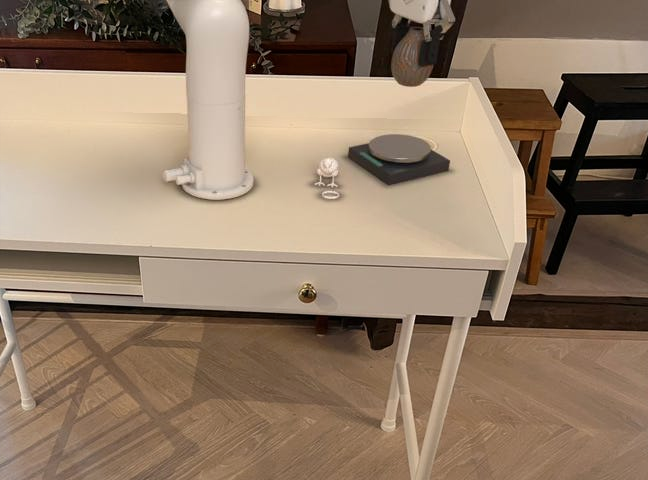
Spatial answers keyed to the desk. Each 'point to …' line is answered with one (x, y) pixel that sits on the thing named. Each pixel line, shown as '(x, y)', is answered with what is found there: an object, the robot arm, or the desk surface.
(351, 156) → the scale
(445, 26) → the robot arm
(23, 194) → the desk surface
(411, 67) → the vase
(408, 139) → the scale pan
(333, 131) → the desk surface
